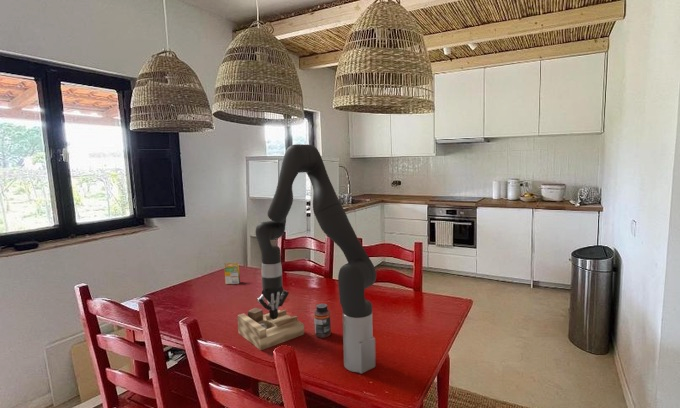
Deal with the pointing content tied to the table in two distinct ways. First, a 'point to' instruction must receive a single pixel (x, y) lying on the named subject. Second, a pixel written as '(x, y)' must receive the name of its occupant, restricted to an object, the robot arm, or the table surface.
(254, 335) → the wooden stepped tray
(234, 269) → the crayon box
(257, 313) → the walnut cube
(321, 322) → the supplement bottle
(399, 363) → the table surface
